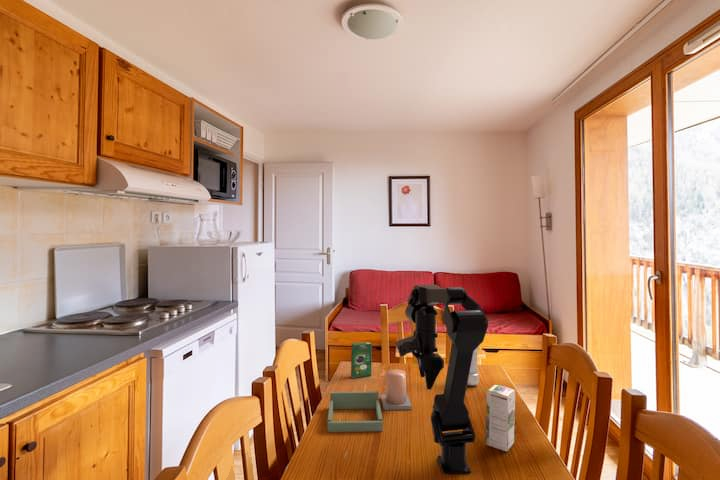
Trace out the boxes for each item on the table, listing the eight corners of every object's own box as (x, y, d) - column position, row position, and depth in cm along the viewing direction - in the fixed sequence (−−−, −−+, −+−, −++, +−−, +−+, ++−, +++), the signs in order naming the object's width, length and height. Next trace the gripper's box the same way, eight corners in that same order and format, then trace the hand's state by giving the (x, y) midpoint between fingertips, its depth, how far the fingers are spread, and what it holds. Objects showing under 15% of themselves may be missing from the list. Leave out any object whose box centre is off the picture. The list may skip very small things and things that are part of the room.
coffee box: (369, 373, 153) (369, 341, 153) (372, 375, 150) (372, 342, 150) (350, 376, 150) (350, 343, 150) (353, 378, 147) (353, 345, 147)
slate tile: (411, 409, 120) (411, 405, 120) (383, 409, 120) (383, 406, 120) (407, 397, 129) (407, 394, 129) (381, 398, 129) (381, 394, 129)
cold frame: (382, 431, 107) (382, 413, 107) (327, 432, 106) (327, 414, 106) (378, 406, 122) (378, 391, 122) (330, 407, 122) (330, 392, 122)
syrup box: (493, 436, 104) (493, 383, 104) (515, 443, 100) (515, 388, 100) (485, 445, 100) (485, 389, 100) (508, 453, 96) (508, 395, 96)
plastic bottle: (480, 388, 137) (480, 333, 137) (460, 387, 138) (460, 332, 138) (478, 382, 143) (478, 329, 143) (459, 380, 145) (459, 328, 145)
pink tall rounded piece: (401, 406, 120) (402, 377, 120) (382, 402, 123) (383, 374, 123) (408, 398, 126) (408, 371, 126) (390, 394, 129) (390, 368, 129)
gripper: (393, 321, 117) (393, 371, 117) (402, 337, 99) (402, 396, 99) (429, 321, 118) (429, 371, 118) (444, 336, 99) (444, 396, 99)
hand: (425, 382), depth 108 cm, fingers open, 9 cm apart
